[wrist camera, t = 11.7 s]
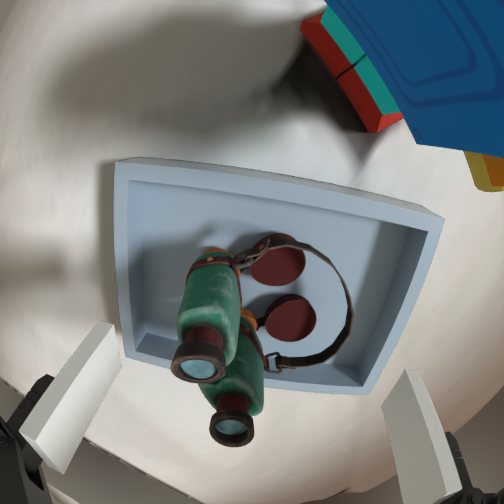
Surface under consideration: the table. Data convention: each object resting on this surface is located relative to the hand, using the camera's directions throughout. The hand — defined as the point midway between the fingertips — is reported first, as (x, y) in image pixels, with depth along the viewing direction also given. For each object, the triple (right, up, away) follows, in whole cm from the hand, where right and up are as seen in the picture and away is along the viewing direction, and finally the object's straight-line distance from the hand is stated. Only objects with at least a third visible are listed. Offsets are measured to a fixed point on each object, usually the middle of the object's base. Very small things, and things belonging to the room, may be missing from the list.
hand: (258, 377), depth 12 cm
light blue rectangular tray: (+1, +3, +9) cm, 10 cm away
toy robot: (+7, +17, +4) cm, 19 cm away
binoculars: (+1, +3, +9) cm, 9 cm away
